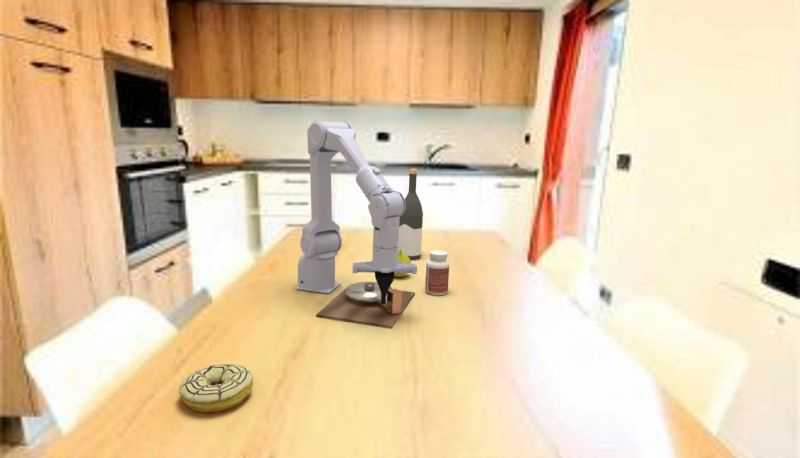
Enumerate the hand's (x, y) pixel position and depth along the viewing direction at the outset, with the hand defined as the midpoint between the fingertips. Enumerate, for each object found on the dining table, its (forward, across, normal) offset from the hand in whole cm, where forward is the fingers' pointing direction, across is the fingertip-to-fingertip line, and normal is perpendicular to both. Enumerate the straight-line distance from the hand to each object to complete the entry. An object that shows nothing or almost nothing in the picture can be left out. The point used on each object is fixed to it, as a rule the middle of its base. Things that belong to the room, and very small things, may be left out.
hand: (383, 302), depth 104 cm
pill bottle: (+4, +15, +16) cm, 22 cm away
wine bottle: (+4, +11, +49) cm, 51 cm away
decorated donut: (+4, -28, -31) cm, 42 cm away
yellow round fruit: (+4, +6, +29) cm, 30 cm away
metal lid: (+2, -1, +7) cm, 8 cm away
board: (+3, -3, +7) cm, 8 cm away
